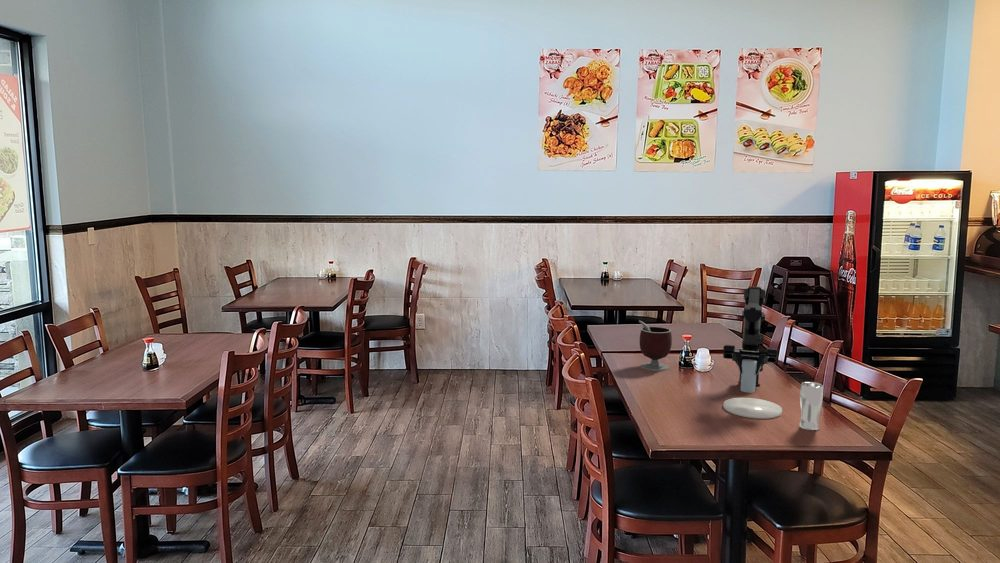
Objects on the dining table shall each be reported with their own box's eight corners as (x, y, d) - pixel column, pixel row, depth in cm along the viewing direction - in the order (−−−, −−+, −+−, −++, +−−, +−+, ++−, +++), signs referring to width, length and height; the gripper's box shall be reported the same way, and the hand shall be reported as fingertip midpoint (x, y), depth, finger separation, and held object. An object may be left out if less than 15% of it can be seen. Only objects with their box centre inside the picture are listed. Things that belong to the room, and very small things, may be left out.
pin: (744, 387, 256) (745, 358, 255) (757, 390, 253) (759, 361, 251) (738, 390, 253) (739, 361, 251) (751, 393, 249) (753, 363, 248)
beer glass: (807, 432, 231) (810, 388, 228) (793, 425, 237) (796, 382, 235) (825, 430, 232) (828, 386, 230) (810, 423, 239) (813, 380, 237)
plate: (764, 399, 264) (764, 396, 264) (793, 417, 245) (793, 414, 245) (714, 401, 262) (714, 398, 262) (738, 419, 242) (739, 416, 242)
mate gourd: (676, 367, 310) (678, 322, 307) (660, 373, 300) (662, 327, 297) (645, 360, 320) (647, 318, 317) (629, 366, 310) (631, 322, 307)
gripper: (724, 323, 256) (721, 359, 248) (779, 327, 250) (777, 364, 241) (725, 339, 265) (721, 375, 256) (777, 343, 258) (776, 380, 250)
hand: (748, 373), depth 251 cm, fingers closed on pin, 5 cm apart
